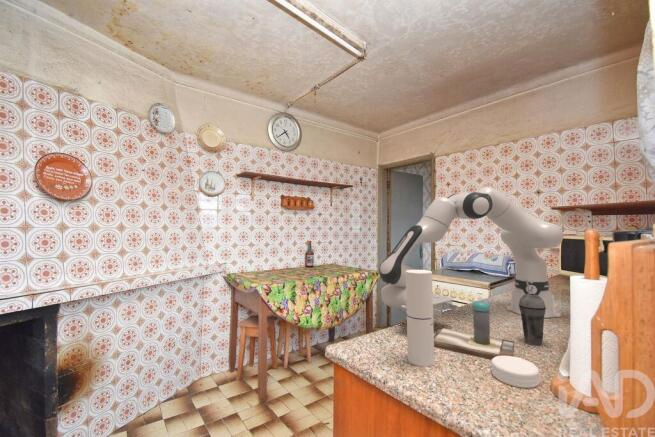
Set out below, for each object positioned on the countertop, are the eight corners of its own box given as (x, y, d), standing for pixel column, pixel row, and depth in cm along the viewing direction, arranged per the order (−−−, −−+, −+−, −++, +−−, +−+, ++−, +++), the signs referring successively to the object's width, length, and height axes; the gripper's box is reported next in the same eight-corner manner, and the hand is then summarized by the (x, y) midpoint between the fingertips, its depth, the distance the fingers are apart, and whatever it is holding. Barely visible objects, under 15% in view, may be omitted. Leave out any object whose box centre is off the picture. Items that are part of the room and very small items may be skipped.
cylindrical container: (402, 357, 82) (400, 270, 83) (422, 353, 85) (419, 269, 86) (419, 368, 76) (417, 274, 76) (440, 363, 78) (437, 272, 79)
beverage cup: (552, 348, 87) (550, 282, 88) (526, 346, 89) (523, 281, 89) (540, 338, 94) (537, 278, 95) (515, 337, 96) (513, 277, 96)
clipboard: (441, 331, 102) (440, 325, 102) (514, 345, 90) (513, 338, 90) (429, 345, 90) (428, 338, 90) (511, 363, 77) (511, 355, 78)
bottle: (474, 337, 92) (473, 300, 92) (491, 341, 89) (490, 302, 89) (472, 342, 88) (471, 303, 88) (489, 346, 85) (488, 305, 86)
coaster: (524, 393, 64) (524, 377, 64) (483, 373, 73) (482, 359, 73) (548, 382, 69) (547, 367, 69) (506, 364, 77) (506, 351, 78)
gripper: (397, 297, 103) (430, 306, 91) (432, 290, 114) (465, 297, 103) (397, 315, 102) (431, 326, 91) (432, 306, 114) (465, 314, 103)
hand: (449, 310), depth 97 cm, fingers open, 8 cm apart
